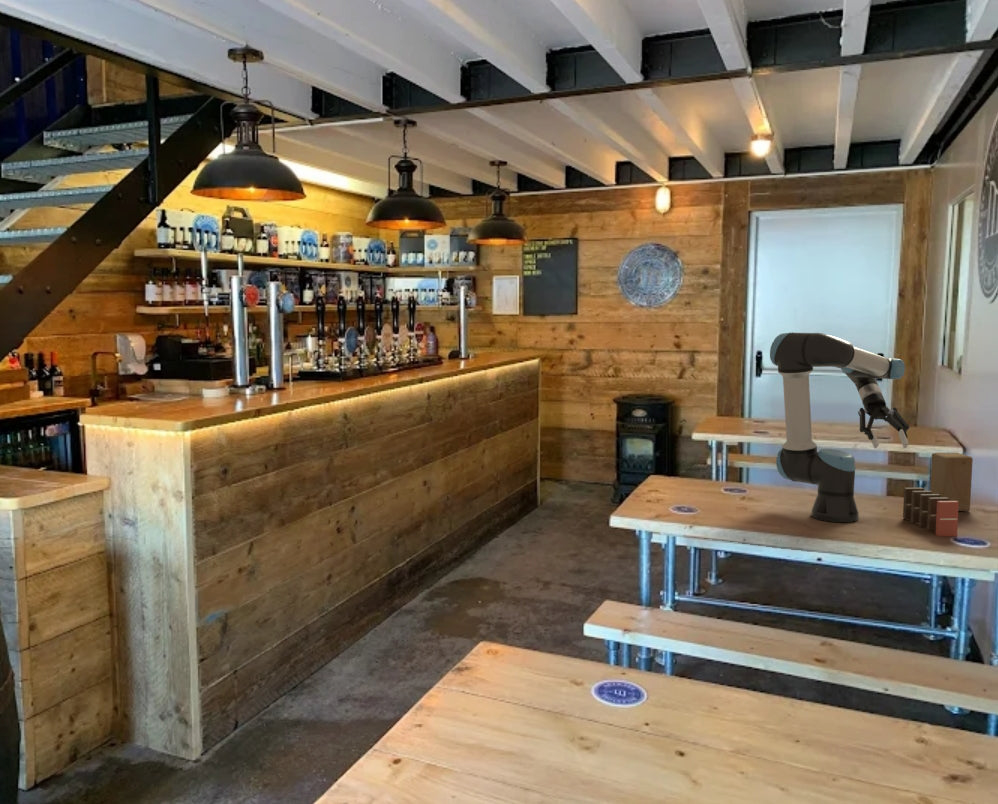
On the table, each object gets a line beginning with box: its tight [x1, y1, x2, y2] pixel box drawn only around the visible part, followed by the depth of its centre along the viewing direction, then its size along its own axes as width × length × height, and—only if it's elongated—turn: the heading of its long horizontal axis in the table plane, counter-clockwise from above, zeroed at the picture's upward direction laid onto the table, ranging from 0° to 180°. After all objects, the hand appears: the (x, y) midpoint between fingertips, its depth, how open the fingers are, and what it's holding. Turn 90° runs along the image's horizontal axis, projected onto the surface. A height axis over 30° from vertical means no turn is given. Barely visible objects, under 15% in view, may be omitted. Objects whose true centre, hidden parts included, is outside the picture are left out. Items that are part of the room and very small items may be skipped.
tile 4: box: [926, 497, 950, 533], centre depth 255 cm, size 2×6×11 cm, turn 91°
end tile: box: [935, 501, 959, 537], centre depth 250 cm, size 2×6×11 cm, turn 91°
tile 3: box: [918, 494, 941, 529], centre depth 260 cm, size 2×6×11 cm, turn 91°
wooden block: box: [929, 452, 974, 512], centre depth 284 cm, size 10×10×20 cm
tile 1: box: [902, 487, 925, 521], centre depth 270 cm, size 2×6×11 cm, turn 91°
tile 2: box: [910, 490, 932, 524], centre depth 265 cm, size 2×6×11 cm, turn 91°
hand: (891, 446), depth 285 cm, fingers open, 10 cm apart
